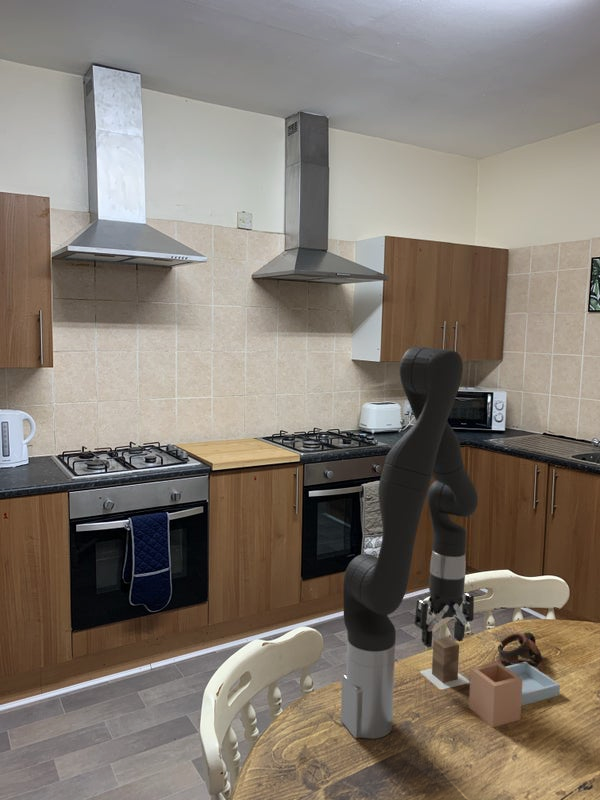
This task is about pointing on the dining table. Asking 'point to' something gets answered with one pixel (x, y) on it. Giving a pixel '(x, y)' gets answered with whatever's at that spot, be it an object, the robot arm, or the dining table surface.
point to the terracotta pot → (495, 694)
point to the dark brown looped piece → (521, 649)
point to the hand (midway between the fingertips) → (442, 642)
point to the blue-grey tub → (534, 683)
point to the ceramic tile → (441, 686)
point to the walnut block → (445, 659)
